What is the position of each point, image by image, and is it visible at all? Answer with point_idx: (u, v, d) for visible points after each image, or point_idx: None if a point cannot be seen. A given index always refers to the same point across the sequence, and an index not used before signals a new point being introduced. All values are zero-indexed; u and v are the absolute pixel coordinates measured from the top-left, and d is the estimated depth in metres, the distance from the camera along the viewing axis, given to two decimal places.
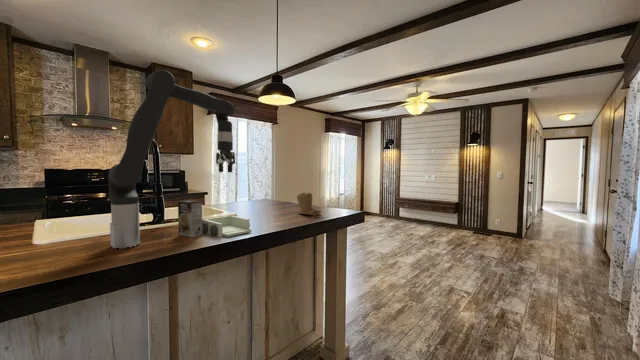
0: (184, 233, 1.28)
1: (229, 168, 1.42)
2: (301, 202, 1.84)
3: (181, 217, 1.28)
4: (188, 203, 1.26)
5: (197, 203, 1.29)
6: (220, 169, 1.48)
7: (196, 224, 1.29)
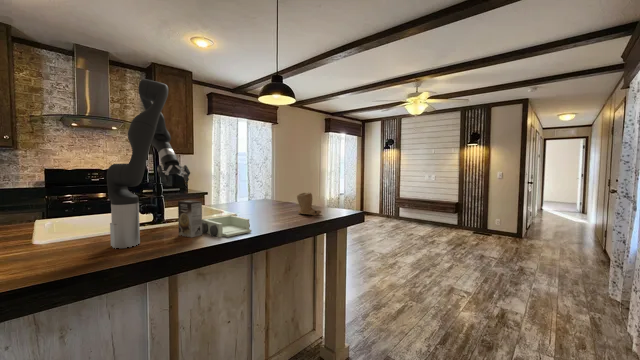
0: (184, 233, 1.28)
1: (187, 177, 1.42)
2: (301, 202, 1.84)
3: (181, 217, 1.28)
4: (188, 203, 1.26)
5: (197, 203, 1.29)
6: None
7: (196, 224, 1.29)
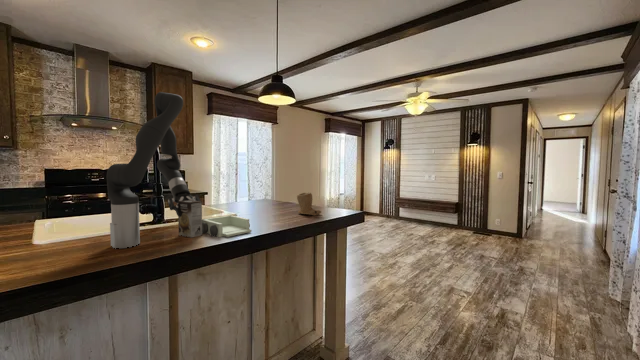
0: (184, 233, 1.28)
1: None
2: (301, 202, 1.84)
3: (181, 217, 1.28)
4: (188, 203, 1.26)
5: (197, 203, 1.29)
6: None
7: (196, 224, 1.29)
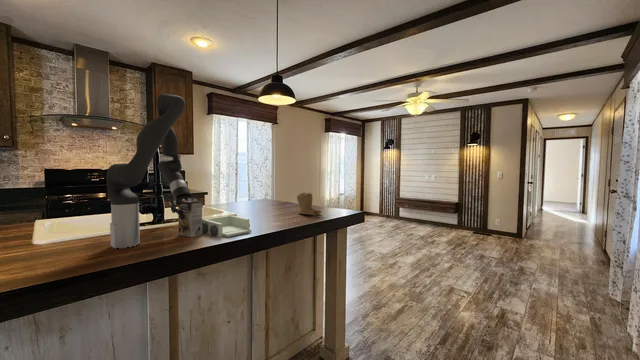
0: (184, 233, 1.28)
1: None
2: (301, 202, 1.84)
3: None
4: (188, 203, 1.26)
5: (197, 203, 1.29)
6: None
7: (196, 223, 1.29)
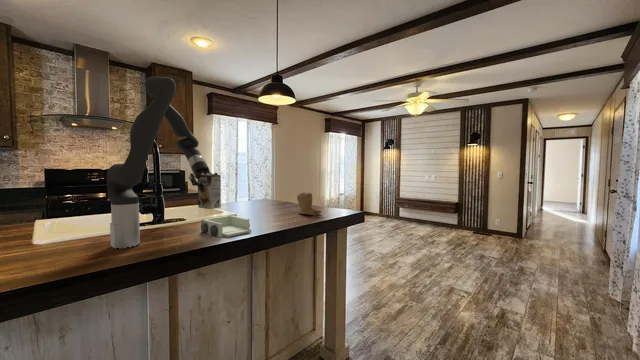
0: (204, 205, 1.32)
1: None
2: (301, 202, 1.84)
3: None
4: (208, 176, 1.30)
5: (216, 176, 1.33)
6: None
7: (216, 196, 1.33)
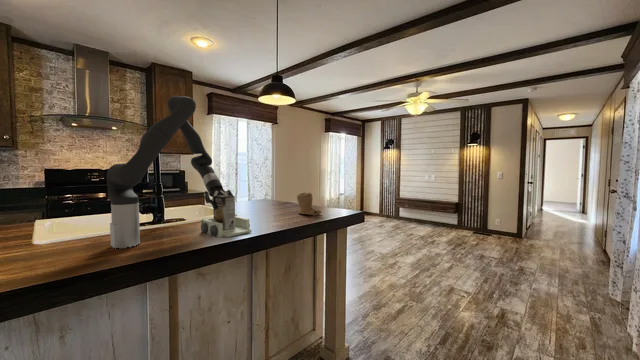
0: None
1: None
2: (301, 202, 1.84)
3: (216, 211, 1.36)
4: (222, 197, 1.34)
5: (230, 197, 1.36)
6: None
7: (230, 217, 1.36)
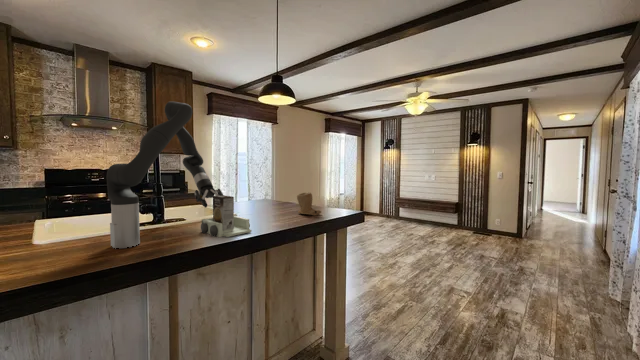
0: None
1: None
2: (301, 202, 1.84)
3: (215, 211, 1.36)
4: (221, 198, 1.33)
5: (229, 198, 1.35)
6: None
7: (228, 218, 1.35)
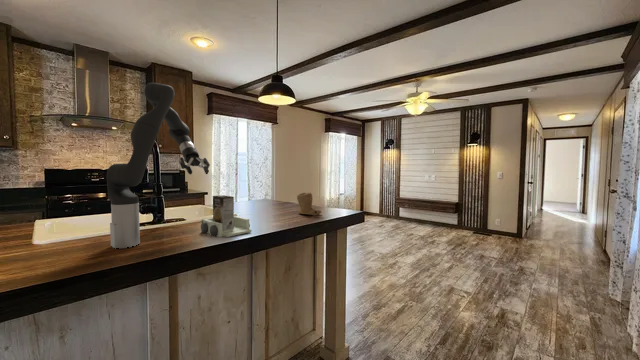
0: None
1: (207, 169, 1.48)
2: (301, 202, 1.84)
3: (215, 211, 1.36)
4: (221, 198, 1.33)
5: (229, 198, 1.35)
6: None
7: (228, 218, 1.35)
